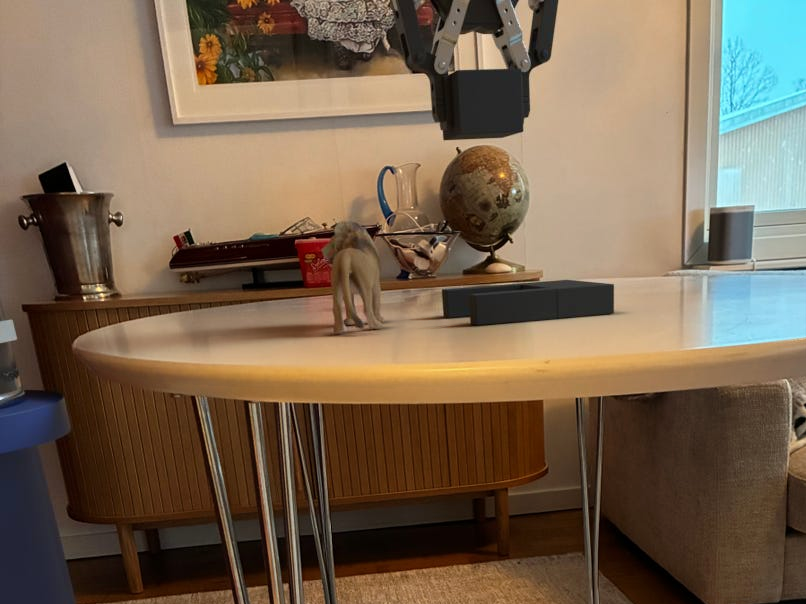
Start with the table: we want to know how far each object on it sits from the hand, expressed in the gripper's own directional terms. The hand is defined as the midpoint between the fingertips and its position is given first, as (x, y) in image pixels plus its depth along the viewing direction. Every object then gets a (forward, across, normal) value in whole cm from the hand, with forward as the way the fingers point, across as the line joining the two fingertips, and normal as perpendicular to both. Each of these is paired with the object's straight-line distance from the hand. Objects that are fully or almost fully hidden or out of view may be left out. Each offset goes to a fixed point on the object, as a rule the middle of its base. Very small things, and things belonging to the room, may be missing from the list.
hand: (481, 126), depth 80 cm
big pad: (+15, -4, -3) cm, 16 cm away
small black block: (+1, 0, 0) cm, 1 cm away
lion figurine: (+16, +11, -6) cm, 20 cm away
